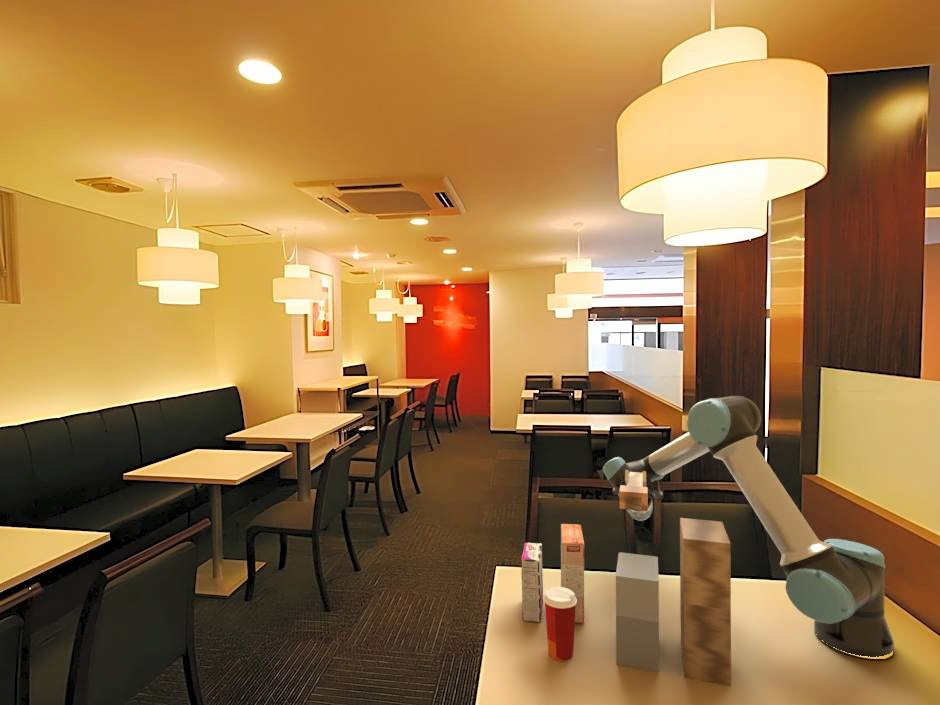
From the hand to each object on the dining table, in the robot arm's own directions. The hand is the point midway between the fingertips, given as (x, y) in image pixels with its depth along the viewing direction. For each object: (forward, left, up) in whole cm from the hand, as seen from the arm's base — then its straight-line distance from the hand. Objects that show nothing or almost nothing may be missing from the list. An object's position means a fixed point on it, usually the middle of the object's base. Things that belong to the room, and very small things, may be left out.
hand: (635, 475), depth 127 cm
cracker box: (+16, -3, -38) cm, 42 cm away
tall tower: (-15, +11, -38) cm, 42 cm away
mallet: (0, +3, -4) cm, 5 cm away
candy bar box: (+26, +1, -38) cm, 47 cm away
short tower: (-1, +11, -38) cm, 40 cm away
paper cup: (+16, +17, -38) cm, 45 cm away
